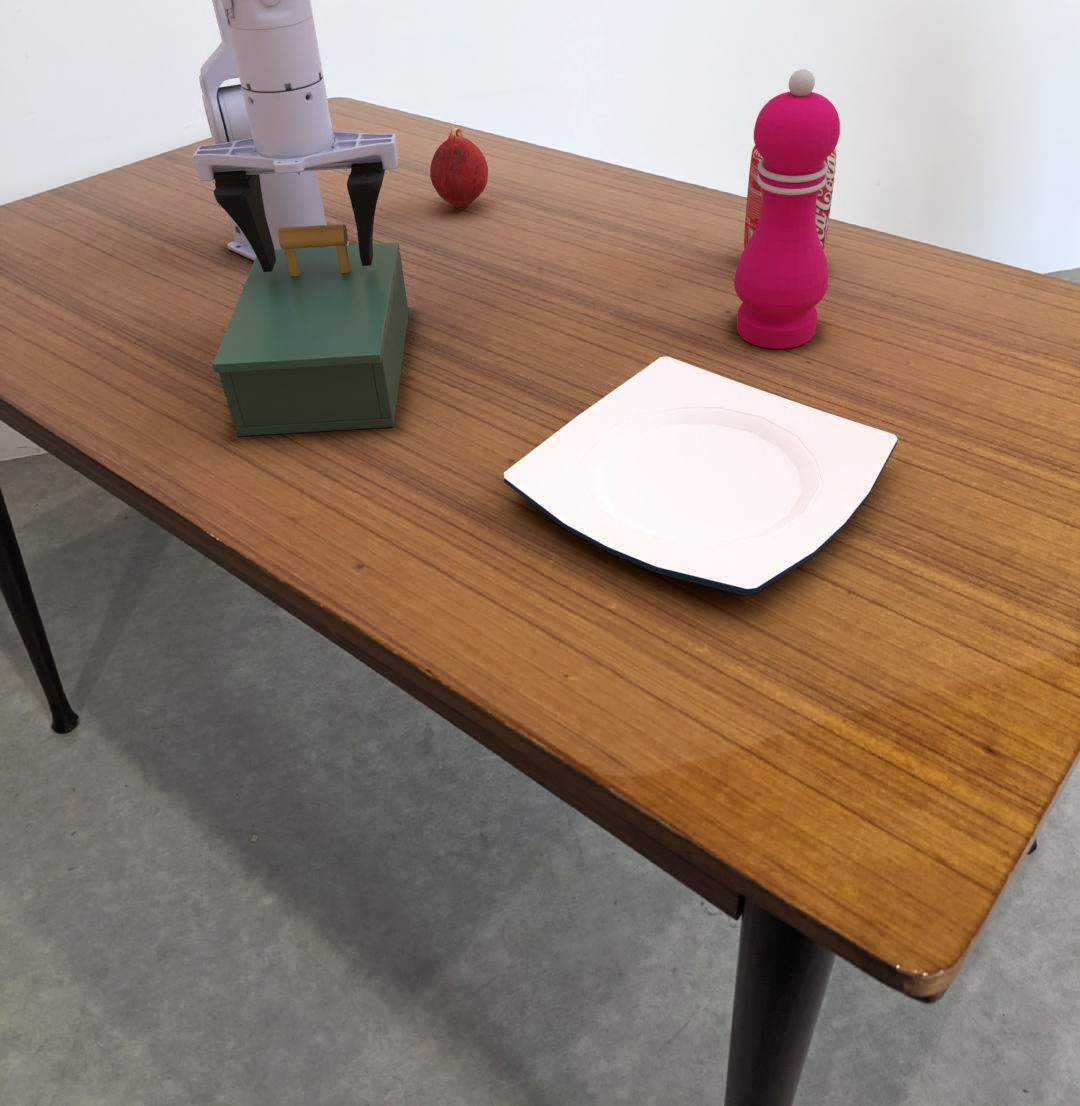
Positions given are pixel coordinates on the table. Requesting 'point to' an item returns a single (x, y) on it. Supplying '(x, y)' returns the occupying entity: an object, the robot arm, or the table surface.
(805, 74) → the pepper mill
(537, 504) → the plate
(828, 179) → the soda can
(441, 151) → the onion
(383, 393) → the chest
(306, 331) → the lid
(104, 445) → the table surface
